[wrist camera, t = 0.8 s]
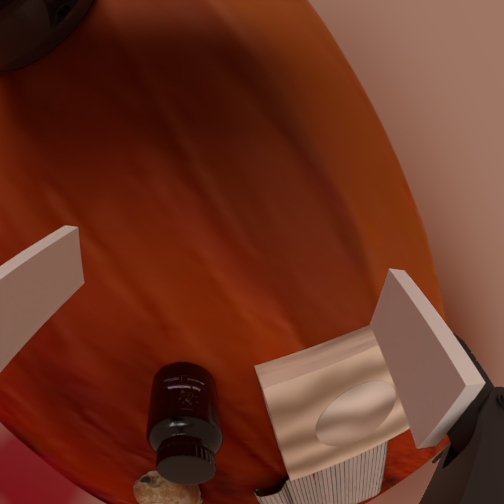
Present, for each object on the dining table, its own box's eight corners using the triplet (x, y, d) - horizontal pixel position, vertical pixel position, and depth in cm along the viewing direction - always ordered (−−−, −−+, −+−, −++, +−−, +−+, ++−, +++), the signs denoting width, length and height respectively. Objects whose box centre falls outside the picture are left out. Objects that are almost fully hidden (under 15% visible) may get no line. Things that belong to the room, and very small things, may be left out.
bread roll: (177, 449, 37) (161, 476, 29) (218, 493, 36) (210, 524, 28) (133, 468, 37) (113, 493, 29) (173, 509, 36) (160, 537, 28)
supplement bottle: (192, 348, 29) (199, 436, 18) (225, 391, 31) (246, 475, 20) (138, 375, 29) (126, 462, 18) (175, 414, 31) (179, 497, 20)
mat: (376, 483, 48) (385, 497, 43) (274, 522, 45) (280, 538, 40) (385, 427, 41) (399, 445, 36) (249, 478, 38) (256, 501, 33)
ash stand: (254, 365, 31) (263, 390, 27) (408, 307, 34) (429, 321, 30) (283, 461, 37) (291, 482, 33) (400, 411, 40) (414, 427, 36)
